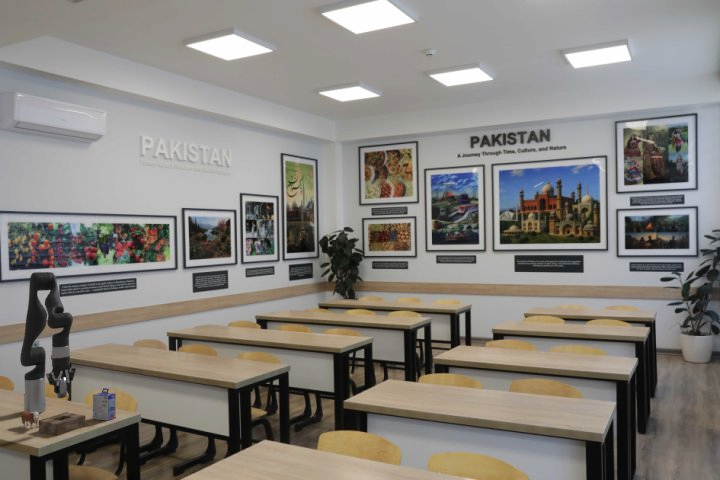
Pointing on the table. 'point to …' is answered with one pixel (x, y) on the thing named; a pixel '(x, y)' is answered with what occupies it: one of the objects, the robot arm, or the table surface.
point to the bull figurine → (30, 418)
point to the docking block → (62, 423)
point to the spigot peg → (62, 388)
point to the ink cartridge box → (104, 405)
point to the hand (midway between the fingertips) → (61, 392)
